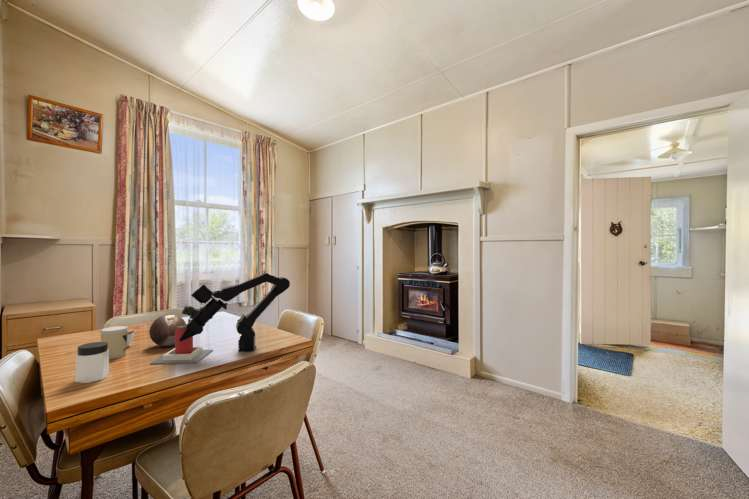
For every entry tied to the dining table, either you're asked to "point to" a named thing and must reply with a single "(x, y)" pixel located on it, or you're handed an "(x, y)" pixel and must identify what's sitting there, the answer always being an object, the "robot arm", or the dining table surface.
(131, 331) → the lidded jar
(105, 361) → the jar
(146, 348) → the dining table surface
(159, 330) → the brown ball
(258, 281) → the robot arm
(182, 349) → the beer can
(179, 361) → the holder plate
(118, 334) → the coffee cup
